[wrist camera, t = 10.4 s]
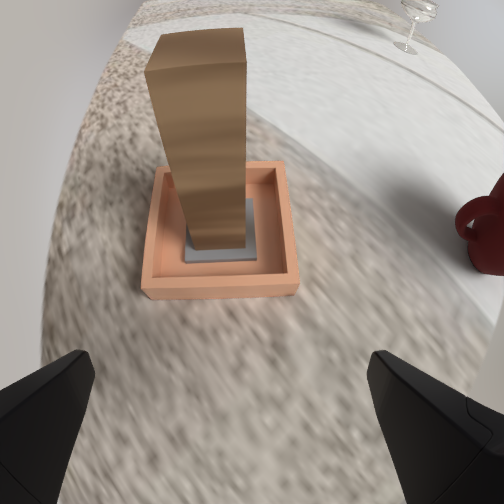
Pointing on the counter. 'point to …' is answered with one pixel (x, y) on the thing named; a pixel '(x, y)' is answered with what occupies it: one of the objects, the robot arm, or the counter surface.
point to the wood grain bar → (206, 138)
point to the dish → (222, 273)
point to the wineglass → (417, 18)
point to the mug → (485, 230)
